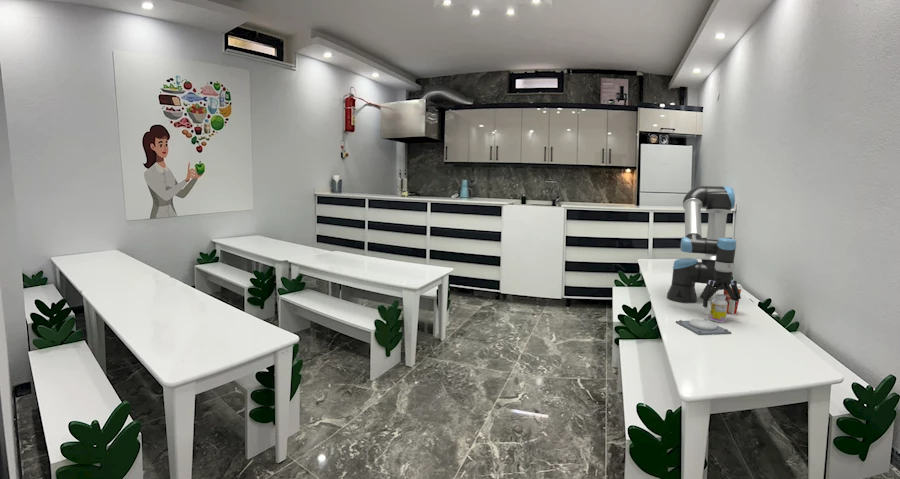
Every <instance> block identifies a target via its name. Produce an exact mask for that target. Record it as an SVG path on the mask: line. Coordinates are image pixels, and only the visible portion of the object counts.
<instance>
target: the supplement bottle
mask: <svg viewBox="0 0 900 479" xmlns="http://www.w3.org/2000/svg"><path fill="white" fill-rule="evenodd" d="M723 294H724V293H723ZM723 294H722V293H715V294H714V298H713V299H712V300H711V302H710V303H711V304H710V313H709V320H711V322H714V323H715V322H716V323H725V322H726V321H727V320H726V319H727V314H728V313H727V305H728V303H727V301H726V300H725V299H726V295H723Z"/></svg>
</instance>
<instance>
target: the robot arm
mask: <svg viewBox="0 0 900 479" xmlns="http://www.w3.org/2000/svg"><path fill="white" fill-rule="evenodd" d="M735 203H736V196H735V190H734V189H733V188H732V187H730V186H718V185H717V186H711V185H710V186H708V185H707V186H706V185H700V186H696V187H693V188H691V189H690V190H689V191H688V192H686V194H685V195H684V197H683V200H682V208H683V209H684V236H683V237H682V238H681V239H680V252H684V253H689V254H690V253H691V254H702V255H703V254H704V255H705V256H703V257H702V258H701V261H698V259H697V258H691V257H689V258H687V257H684V258H677V259H675V260H674V261H673V267H672V269H673V270H672V279H671V285H670V287H669V289H668V291H667V293H666V298H667V299H669V300H670V301H673V302H678V303H684V304H693V303H697V301H698V296H697V291H696V288H695V287H696V283H698V284H706V285H705V287H704V288H703V290H702V293H700V296H699V299H701V300H703V302H702V307H703V310H702V312H703V314H706V315H710V313H709V311H710V307H711V304H710V303H711V301H710V300H711V298H713V296H715V294H717V292H718V291H724V290H726V291H727V293H728V294H729V296H730V297H731V299H730V301H729V309H728V312H729V313H732V314H731V315H735V314H734V308H735V306H736V301H738V300H739V301H740V300H741V299H742V296H741V293H740V294H739V291H738V288H737V284H738V282H737V280H734V279H733V271H734V263H735V256H736V255H735V254H736V249H737V240H736V239H734V238H730V237H729V238H728V237H726V230H727V218H728V214H729V213H730V212H731V210H732V209H734V208H735V205H736V204H735ZM702 208H705V212H707V214H708V221H707V230H706V238H703V237H702V235H703V234H702V212H701V211H702V210H701V209H702ZM730 284H731V287H732V290H733V291H732V290H731V287H730V286H729V285H730Z"/></svg>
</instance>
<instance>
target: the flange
mask: <svg viewBox="0 0 900 479" xmlns="http://www.w3.org/2000/svg"><path fill="white" fill-rule="evenodd" d="M675 324H677V325H679V326H681V327H683V328H685V329H687V330H689V331H690V330H691V331H690V332H692V331H693V332H692V333H694V334H696V335H698V336H707V335H708V336H709V335H711V336H712V334H714V335H731V334H732V331H730V330H728V329H727V328H724V327H722V326H719V325H718V324H716V323H715V322H714V321H710V320H708V319H706V318H704V319H698V318H697V319H696V318H694V319H689V320H682V319H679V320H676V321H675Z"/></svg>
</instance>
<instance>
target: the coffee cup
mask: <svg viewBox="0 0 900 479" xmlns="http://www.w3.org/2000/svg"><path fill="white" fill-rule="evenodd" d="M729 286H730V287H731V284H730V285H729ZM737 288H738V291H739V294H740V295H741V292H742V290H743V285H741V284H740V283H737ZM731 290H732V287H731ZM732 291H733V290H732ZM723 295H726V299H725V300H726V301H727V303H728V305H727V313H726V314H729V315H737V311H738V308H739V302H740V299H739V300H738V301H736V306H735V308H734V314H732V313H729V312H728V309H729V301H730V299H731V297H730V296H729V294H728V293H727V291H726V290H723Z"/></svg>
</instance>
